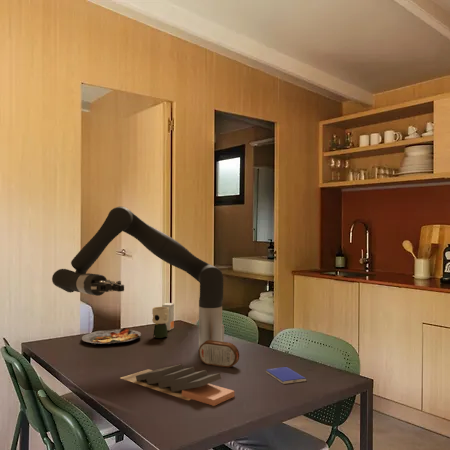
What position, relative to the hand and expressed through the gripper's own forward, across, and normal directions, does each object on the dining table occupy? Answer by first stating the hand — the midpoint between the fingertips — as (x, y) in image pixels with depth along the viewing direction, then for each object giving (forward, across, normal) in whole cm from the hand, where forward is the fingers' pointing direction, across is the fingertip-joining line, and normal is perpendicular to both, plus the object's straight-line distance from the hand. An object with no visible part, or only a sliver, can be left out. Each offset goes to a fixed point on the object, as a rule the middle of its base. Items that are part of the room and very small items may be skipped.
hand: (122, 288), depth 159 cm
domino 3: (+24, +1, -26) cm, 35 cm away
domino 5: (+33, +1, -26) cm, 42 cm away
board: (+22, +1, -28) cm, 36 cm away
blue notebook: (+46, -31, -29) cm, 62 cm away
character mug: (-25, -41, -28) cm, 56 cm away
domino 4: (+29, +1, -26) cm, 39 cm away
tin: (+21, -26, -28) cm, 44 cm away
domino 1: (+13, +1, -26) cm, 30 cm away
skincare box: (-35, -55, -28) cm, 71 cm away
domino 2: (+18, +1, -26) cm, 32 cm away
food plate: (-38, -25, -28) cm, 54 cm away
